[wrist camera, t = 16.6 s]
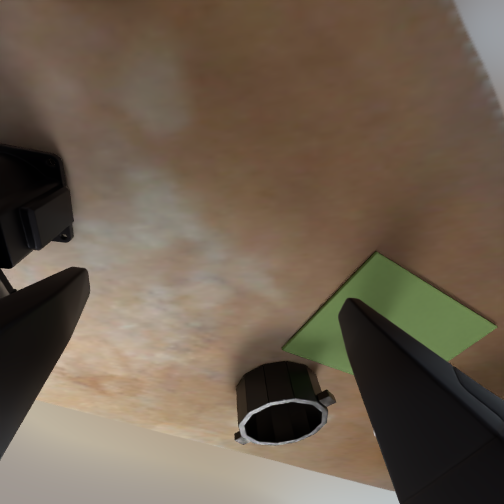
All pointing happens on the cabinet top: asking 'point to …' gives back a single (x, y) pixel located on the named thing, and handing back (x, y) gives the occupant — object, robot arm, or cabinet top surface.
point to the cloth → (390, 315)
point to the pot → (285, 415)
